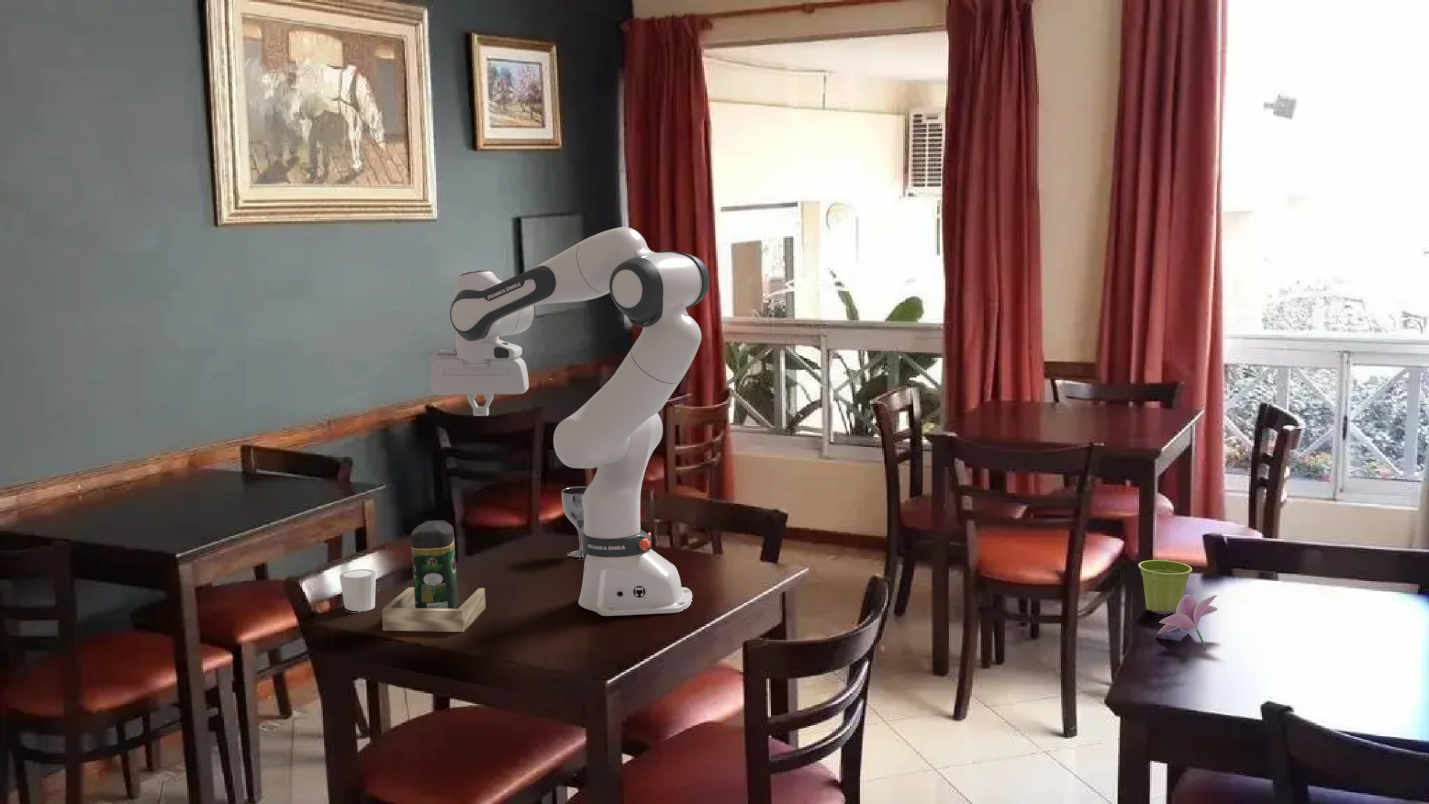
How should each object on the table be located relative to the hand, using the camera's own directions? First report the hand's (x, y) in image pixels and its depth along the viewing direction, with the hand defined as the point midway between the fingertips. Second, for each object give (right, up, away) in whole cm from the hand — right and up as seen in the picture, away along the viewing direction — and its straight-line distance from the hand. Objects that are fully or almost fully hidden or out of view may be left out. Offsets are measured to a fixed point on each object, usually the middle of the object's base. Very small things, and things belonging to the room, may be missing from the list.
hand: (481, 415), depth 255 cm
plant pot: (+133, -37, -25) cm, 140 cm away
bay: (-5, -39, -21) cm, 44 cm away
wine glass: (+19, -32, +22) cm, 43 cm away
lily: (+131, -39, -42) cm, 143 cm away
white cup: (-21, -38, -13) cm, 46 cm away
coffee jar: (-5, -39, -21) cm, 44 cm away
